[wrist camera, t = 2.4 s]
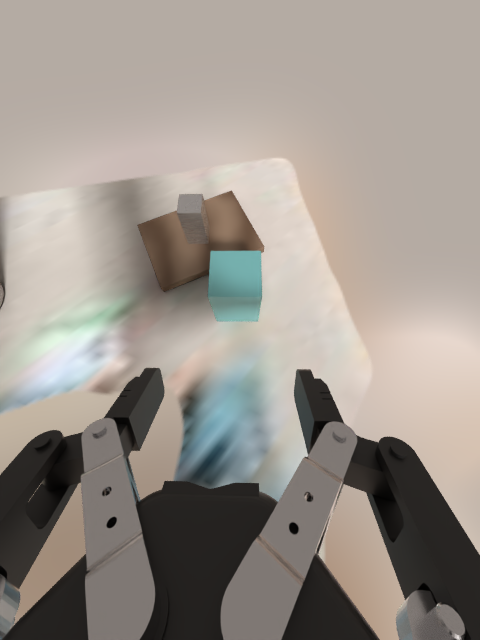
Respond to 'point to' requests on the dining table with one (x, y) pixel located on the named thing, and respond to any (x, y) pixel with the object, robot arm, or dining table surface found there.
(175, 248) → the board
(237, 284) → the teal foam cube
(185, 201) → the post
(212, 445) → the dining table surface
